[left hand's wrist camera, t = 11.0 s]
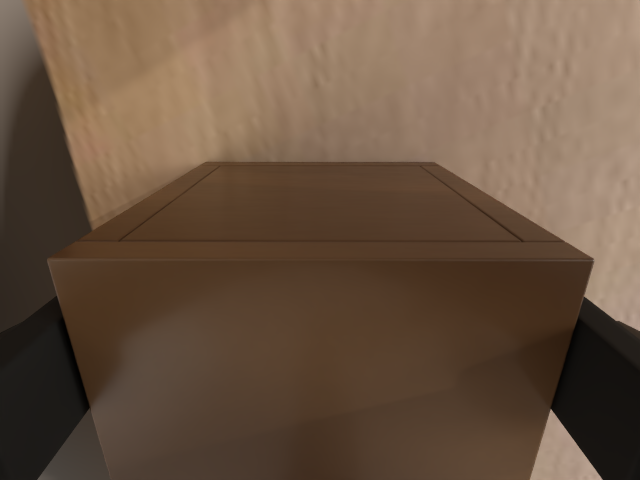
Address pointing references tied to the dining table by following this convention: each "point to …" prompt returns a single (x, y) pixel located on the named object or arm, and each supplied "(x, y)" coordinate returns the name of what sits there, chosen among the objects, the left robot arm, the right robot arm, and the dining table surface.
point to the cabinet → (320, 326)
